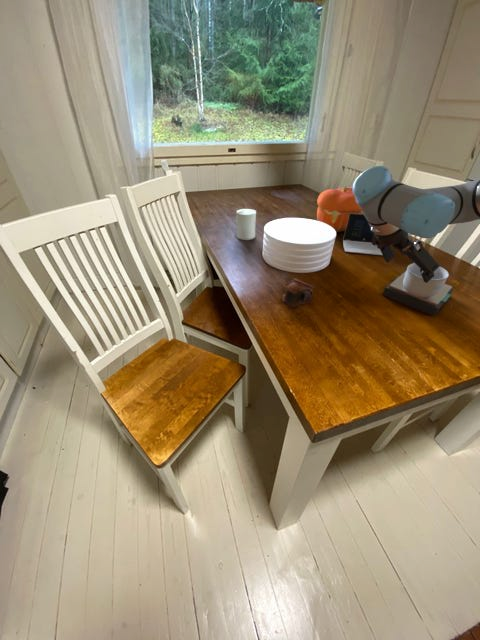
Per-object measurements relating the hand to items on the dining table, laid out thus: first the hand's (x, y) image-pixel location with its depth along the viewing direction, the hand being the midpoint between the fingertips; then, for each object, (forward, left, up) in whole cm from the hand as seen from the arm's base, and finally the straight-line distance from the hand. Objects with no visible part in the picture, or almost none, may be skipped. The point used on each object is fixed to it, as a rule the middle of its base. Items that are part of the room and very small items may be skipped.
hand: (408, 268), depth 81 cm
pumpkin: (+49, -45, -13) cm, 67 cm away
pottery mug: (+22, +22, -13) cm, 34 cm away
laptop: (+27, -33, -13) cm, 44 cm away
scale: (-3, -10, -13) cm, 16 cm away
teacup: (-4, -6, -9) cm, 11 cm away
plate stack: (+43, -4, -13) cm, 45 cm away
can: (+73, -4, -13) cm, 74 cm away
